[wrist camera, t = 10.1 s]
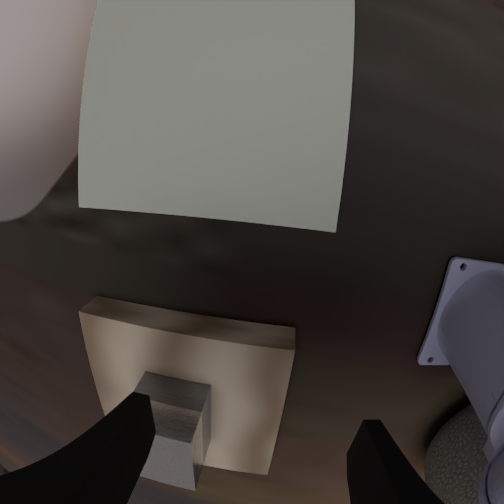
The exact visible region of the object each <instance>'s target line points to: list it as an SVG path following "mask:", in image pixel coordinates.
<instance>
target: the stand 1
mask: <svg viewBox="0 0 504 504" xmlns="http://www.w3.org/2000/svg"><path fill="white" fill-rule="evenodd" d="M354 21H355V0H98V1H97V5H96V9H95V14H94V19H93V24H92V29H91V34H90V39H89V46H88V51H87V58H86V65H85V72H84V81H83V89H82V99H81V100H82V101H81V111H80V127H79V152H78V191H79V207H84V208H98V209H111V210H124V211H136V212H148V213H159V214H170V215H181V216H192V217H202V218H212V219H222V220H232V221H241V222H250V223H260V224H269V225H277V226H286V227H295V228H303V229H311V230H319V231H328V232H336V226H337V219H338V212H339V205H340V198H341V191H342V183H343V175H344V166H345V158H346V148H347V138H348V128H349V117H350V105H351V91H352V75H353V55H354Z"/></svg>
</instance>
